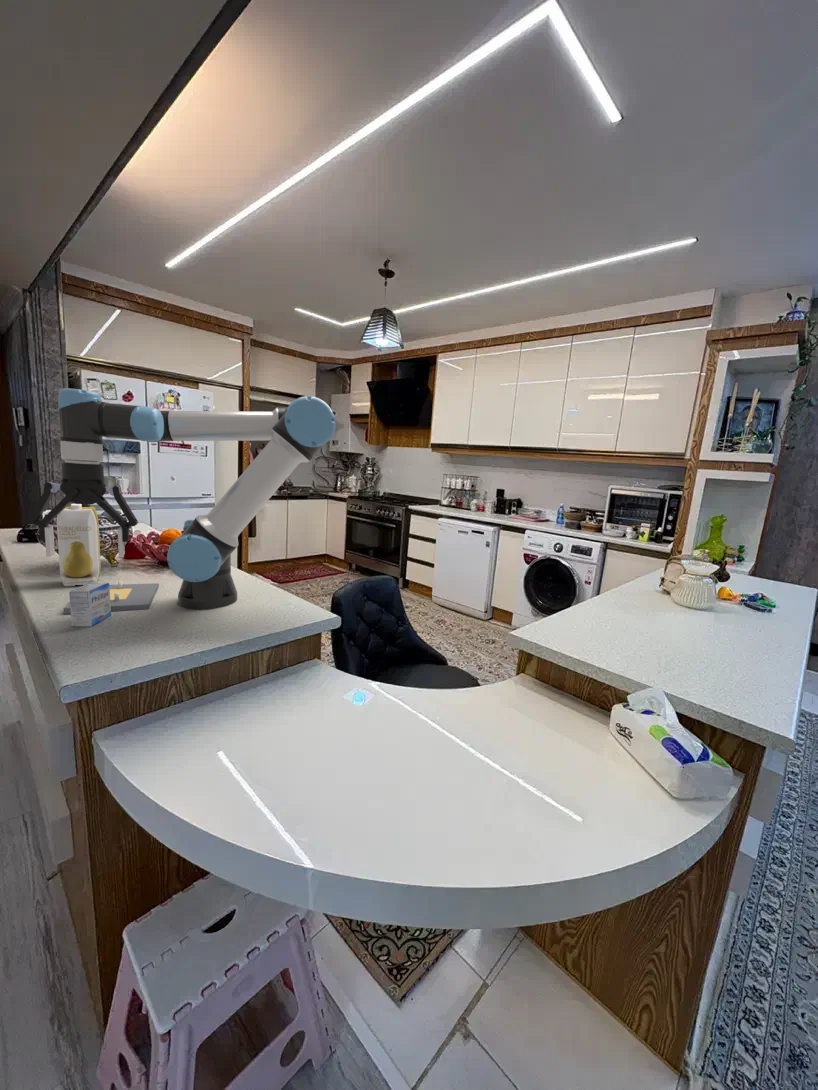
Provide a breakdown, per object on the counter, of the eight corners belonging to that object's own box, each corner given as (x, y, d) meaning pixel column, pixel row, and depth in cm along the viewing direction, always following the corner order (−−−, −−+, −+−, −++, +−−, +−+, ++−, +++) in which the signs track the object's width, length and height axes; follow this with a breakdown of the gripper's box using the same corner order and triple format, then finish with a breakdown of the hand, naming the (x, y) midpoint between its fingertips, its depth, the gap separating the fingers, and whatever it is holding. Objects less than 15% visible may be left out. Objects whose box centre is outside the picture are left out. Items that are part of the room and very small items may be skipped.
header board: (158, 588, 132) (158, 576, 131) (148, 609, 114) (148, 597, 113) (86, 590, 125) (85, 578, 124) (64, 614, 107) (63, 600, 106)
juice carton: (59, 588, 125) (53, 504, 121) (64, 580, 132) (59, 501, 127) (99, 585, 129) (95, 505, 125) (102, 578, 136) (98, 502, 132)
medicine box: (91, 627, 100) (89, 591, 99) (70, 626, 100) (68, 590, 98) (111, 615, 108) (110, 582, 106) (92, 615, 108) (90, 581, 106)
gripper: (149, 466, 106) (151, 551, 109) (18, 457, 96) (25, 551, 99) (144, 467, 99) (146, 558, 103) (3, 457, 89) (11, 559, 93)
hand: (87, 555), depth 101 cm, fingers open, 13 cm apart
